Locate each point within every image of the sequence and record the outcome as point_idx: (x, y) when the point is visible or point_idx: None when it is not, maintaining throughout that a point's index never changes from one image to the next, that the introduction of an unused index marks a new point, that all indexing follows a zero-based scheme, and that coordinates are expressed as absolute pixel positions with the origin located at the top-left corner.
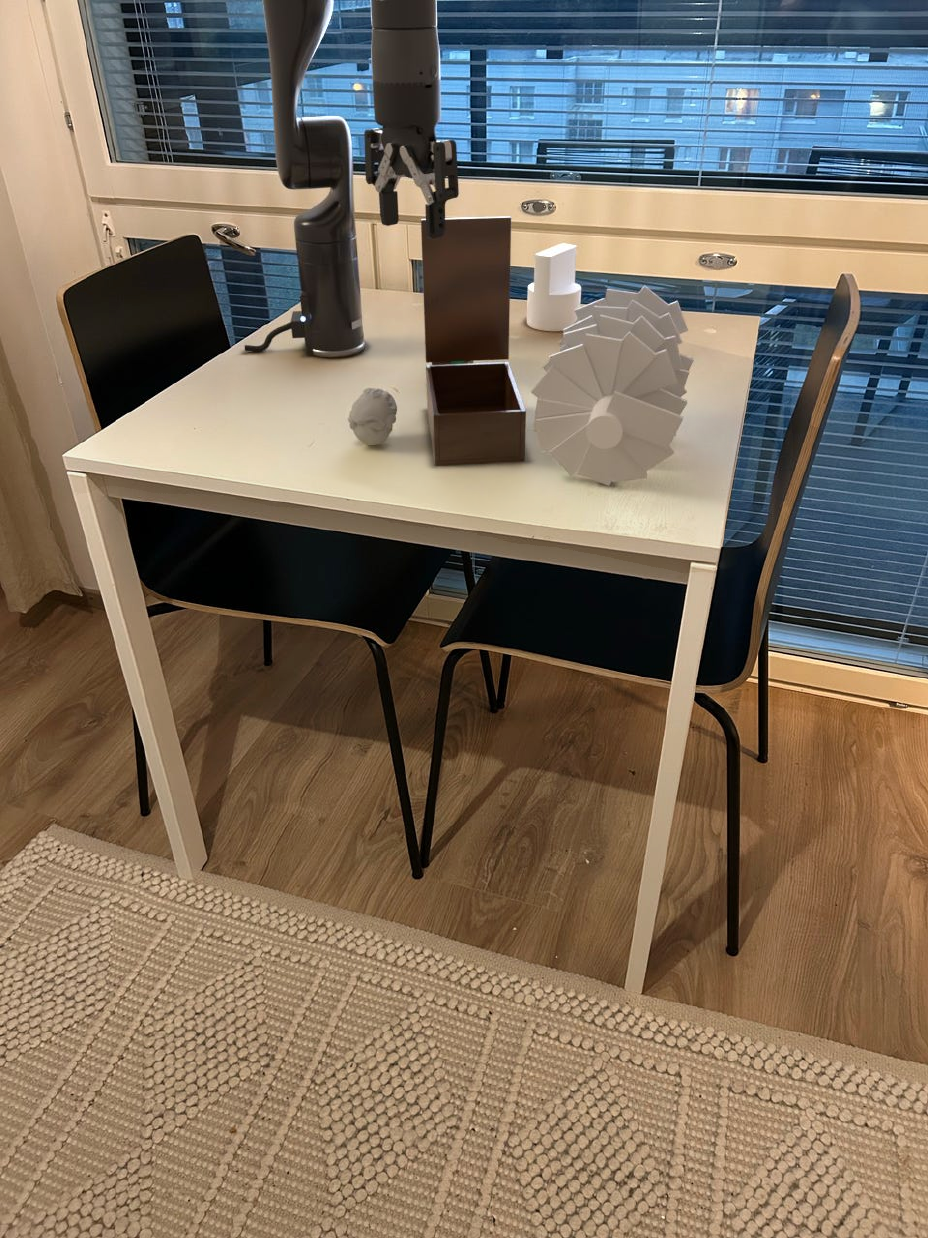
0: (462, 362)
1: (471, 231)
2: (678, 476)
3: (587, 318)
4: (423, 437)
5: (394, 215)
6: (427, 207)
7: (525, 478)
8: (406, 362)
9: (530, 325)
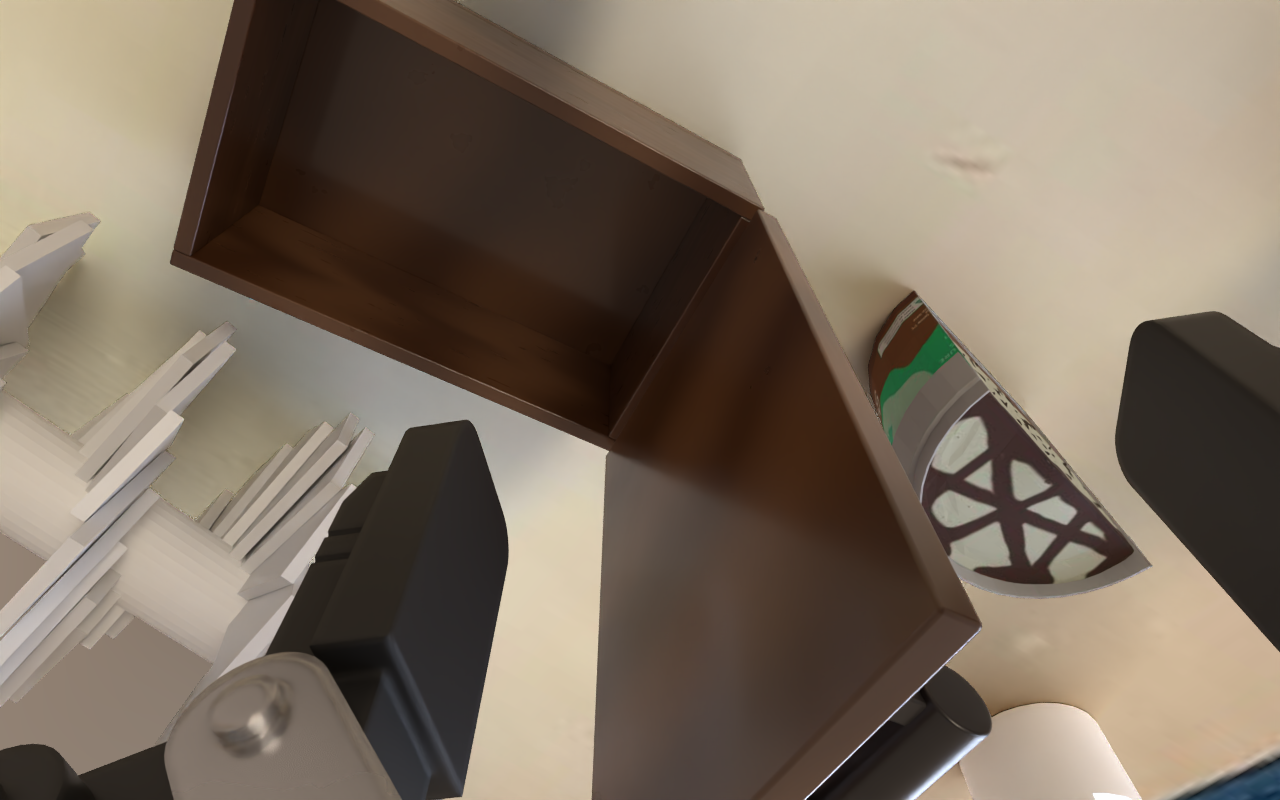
0: (880, 405)
1: (700, 765)
2: None
3: (215, 679)
4: (559, 27)
5: (1162, 468)
6: (353, 613)
7: (135, 142)
8: (1137, 319)
9: (1054, 705)
